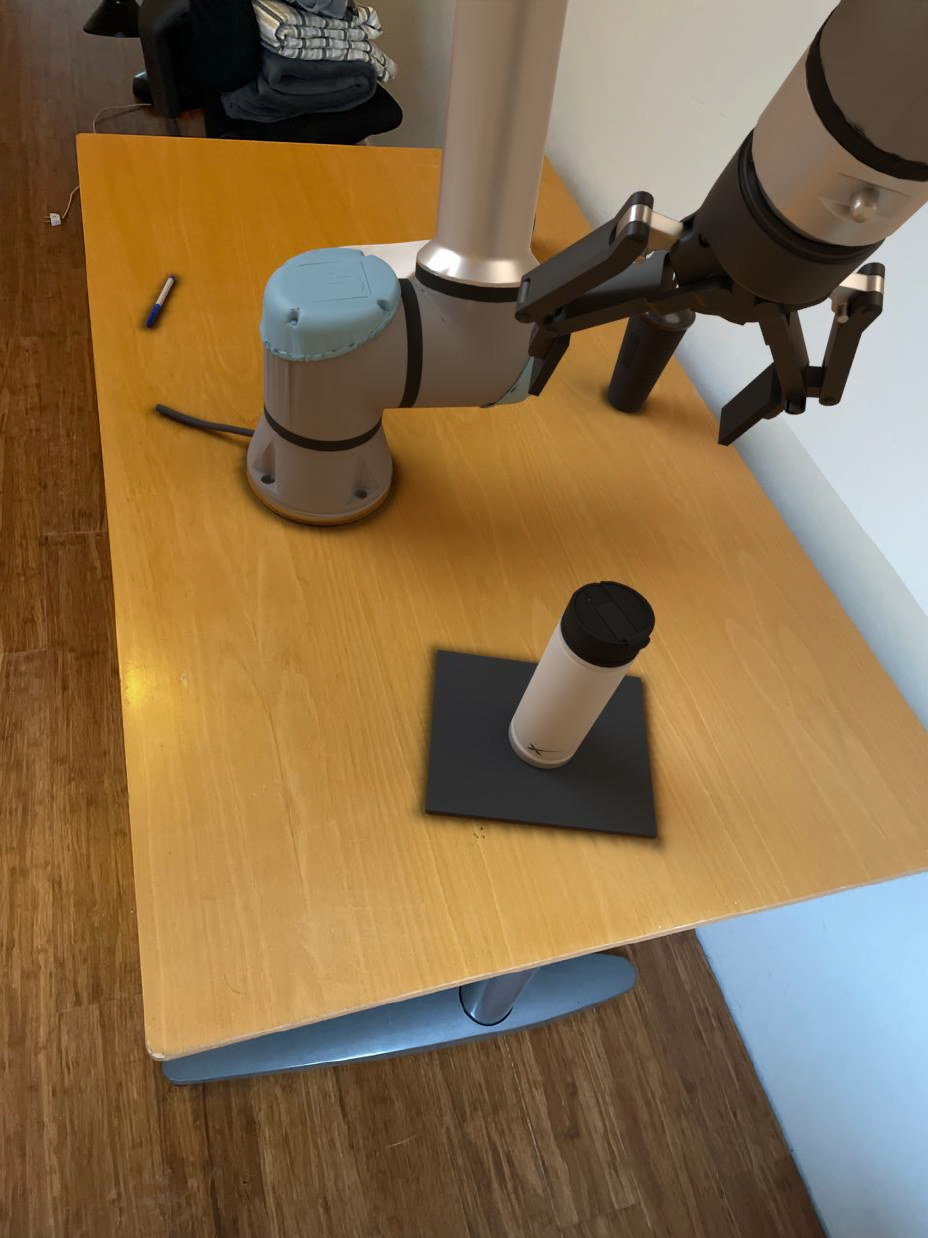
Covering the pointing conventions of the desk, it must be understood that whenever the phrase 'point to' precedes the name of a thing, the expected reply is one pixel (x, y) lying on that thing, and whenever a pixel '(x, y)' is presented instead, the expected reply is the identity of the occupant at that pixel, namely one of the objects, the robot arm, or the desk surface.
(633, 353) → the drinking cup
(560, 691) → the travel mug
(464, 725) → the slate mat
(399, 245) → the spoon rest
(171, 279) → the ballpoint pen
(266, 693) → the desk surface
